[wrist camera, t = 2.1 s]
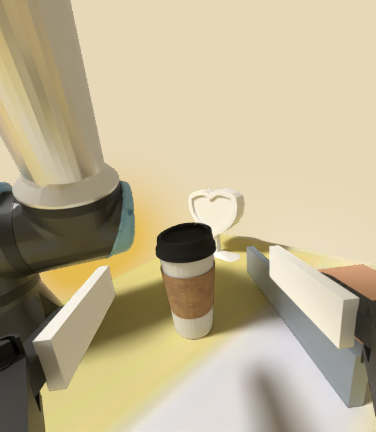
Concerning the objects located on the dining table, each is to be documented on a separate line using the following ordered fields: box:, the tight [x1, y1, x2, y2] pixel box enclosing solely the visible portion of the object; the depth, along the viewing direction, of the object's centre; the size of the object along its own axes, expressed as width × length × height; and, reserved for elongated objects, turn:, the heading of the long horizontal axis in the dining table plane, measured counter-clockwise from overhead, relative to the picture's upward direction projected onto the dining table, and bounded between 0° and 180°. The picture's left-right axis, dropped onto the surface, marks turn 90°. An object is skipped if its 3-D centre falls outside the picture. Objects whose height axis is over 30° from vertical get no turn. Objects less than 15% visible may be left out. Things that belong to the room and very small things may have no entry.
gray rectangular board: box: [247, 246, 368, 408], centre depth 27 cm, size 2×24×6 cm, turn 3°
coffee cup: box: [156, 223, 217, 339], centre depth 26 cm, size 8×8×15 cm
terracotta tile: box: [317, 264, 376, 345], centre depth 28 cm, size 16×16×1 cm
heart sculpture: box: [188, 189, 244, 262], centre depth 48 cm, size 16×5×18 cm, turn 46°
